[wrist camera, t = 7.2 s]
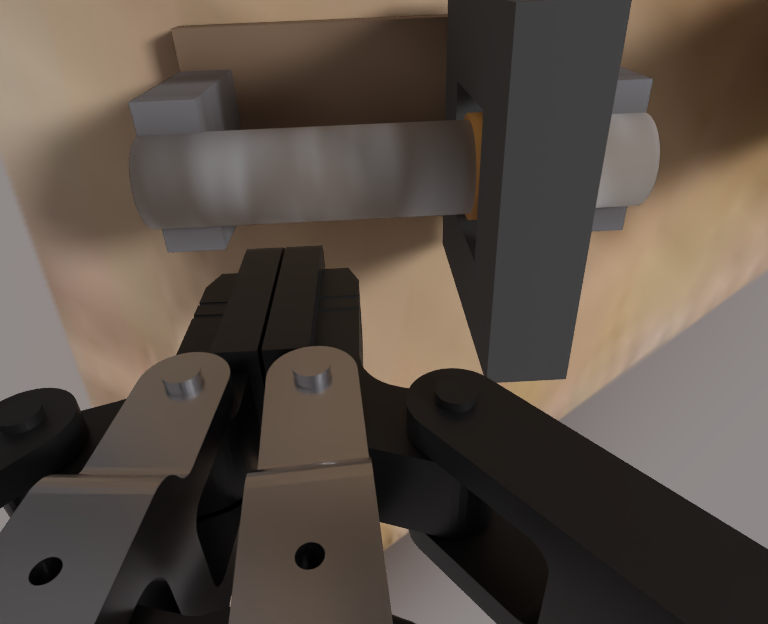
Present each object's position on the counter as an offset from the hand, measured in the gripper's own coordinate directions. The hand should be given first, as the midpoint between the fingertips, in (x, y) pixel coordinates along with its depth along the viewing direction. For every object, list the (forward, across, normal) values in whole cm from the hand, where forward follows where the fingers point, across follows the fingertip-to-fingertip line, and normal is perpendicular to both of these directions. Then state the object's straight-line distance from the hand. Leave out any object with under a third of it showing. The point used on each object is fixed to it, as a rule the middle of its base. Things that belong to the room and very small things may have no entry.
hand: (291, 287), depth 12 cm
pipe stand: (+15, -3, 0) cm, 15 cm away
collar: (+13, -6, 0) cm, 14 cm away
